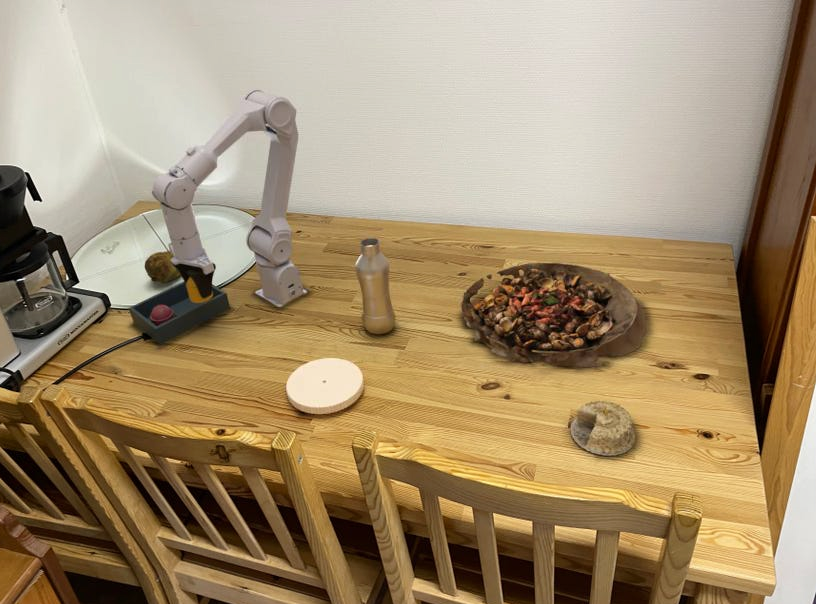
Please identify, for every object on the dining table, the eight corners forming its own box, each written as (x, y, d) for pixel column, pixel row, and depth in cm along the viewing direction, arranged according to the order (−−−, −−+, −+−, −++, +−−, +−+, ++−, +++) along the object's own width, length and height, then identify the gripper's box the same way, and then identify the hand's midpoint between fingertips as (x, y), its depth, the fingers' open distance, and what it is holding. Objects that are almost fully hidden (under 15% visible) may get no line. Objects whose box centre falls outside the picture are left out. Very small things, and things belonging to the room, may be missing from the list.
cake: (616, 410, 121) (622, 385, 118) (646, 452, 112) (653, 426, 109) (559, 418, 120) (564, 393, 117) (585, 461, 111) (590, 435, 108)
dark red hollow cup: (180, 324, 156) (175, 305, 153) (160, 335, 154) (154, 315, 151) (169, 316, 159) (163, 297, 157) (149, 326, 157) (143, 307, 154)
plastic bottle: (394, 338, 144) (384, 250, 133) (360, 338, 145) (348, 250, 134) (398, 320, 149) (390, 233, 138) (366, 319, 150) (355, 234, 139)
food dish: (440, 357, 139) (436, 323, 134) (488, 272, 163) (486, 241, 159) (635, 386, 124) (638, 349, 120) (656, 288, 148) (659, 254, 144)
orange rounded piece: (217, 295, 150) (211, 272, 147) (197, 305, 148) (190, 282, 144) (205, 287, 153) (199, 264, 150) (185, 297, 151) (178, 274, 148)
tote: (230, 310, 160) (226, 292, 157) (161, 347, 151) (155, 329, 148) (201, 291, 168) (197, 274, 165) (134, 325, 159) (128, 307, 157)
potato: (200, 267, 178) (192, 238, 173) (167, 294, 169) (158, 265, 164) (173, 262, 181) (165, 234, 177) (140, 289, 172) (130, 260, 168)
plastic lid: (340, 426, 124) (338, 415, 123) (273, 406, 131) (271, 396, 129) (377, 378, 134) (376, 367, 133) (313, 361, 141) (311, 351, 139)
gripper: (148, 230, 145) (166, 287, 153) (184, 252, 135) (201, 312, 143) (179, 217, 149) (195, 274, 156) (216, 237, 139) (231, 297, 146)
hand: (200, 291), depth 150 cm, fingers closed on orange rounded piece, 5 cm apart
